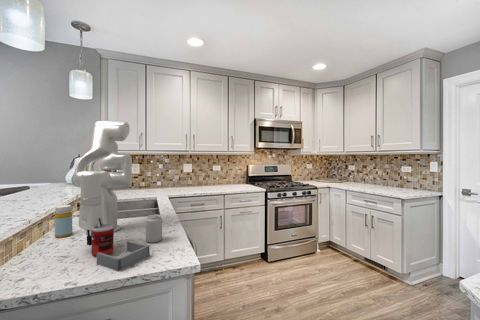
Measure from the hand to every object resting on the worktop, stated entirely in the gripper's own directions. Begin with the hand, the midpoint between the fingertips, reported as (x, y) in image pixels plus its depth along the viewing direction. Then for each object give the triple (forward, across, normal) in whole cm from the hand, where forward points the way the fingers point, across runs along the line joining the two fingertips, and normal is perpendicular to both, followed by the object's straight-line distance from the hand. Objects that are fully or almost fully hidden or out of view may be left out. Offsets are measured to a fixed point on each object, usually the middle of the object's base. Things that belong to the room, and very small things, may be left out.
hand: (91, 244), depth 98 cm
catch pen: (+3, +20, 0) cm, 20 cm away
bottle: (+3, -31, +5) cm, 32 cm away
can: (+3, +15, +20) cm, 25 cm away
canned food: (+3, +7, 0) cm, 8 cm away
